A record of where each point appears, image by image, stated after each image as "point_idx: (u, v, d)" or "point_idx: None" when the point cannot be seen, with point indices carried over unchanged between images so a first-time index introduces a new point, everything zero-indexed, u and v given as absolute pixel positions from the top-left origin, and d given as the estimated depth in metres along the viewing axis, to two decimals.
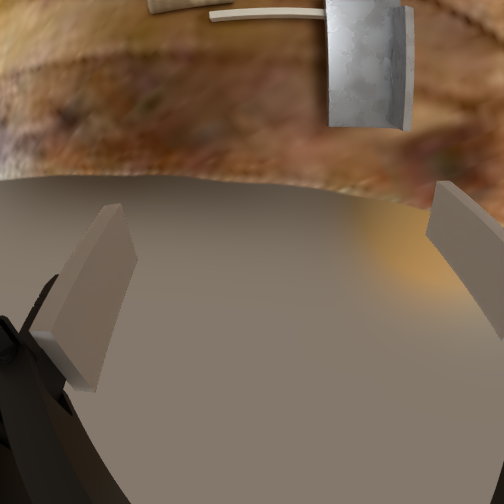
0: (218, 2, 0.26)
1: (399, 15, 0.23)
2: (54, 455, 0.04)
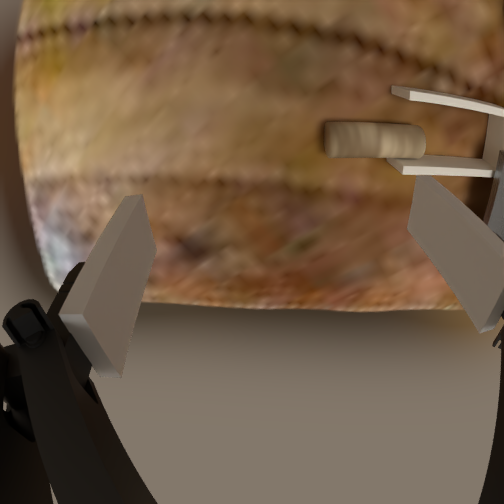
0: None
1: None
2: (81, 443, 0.04)
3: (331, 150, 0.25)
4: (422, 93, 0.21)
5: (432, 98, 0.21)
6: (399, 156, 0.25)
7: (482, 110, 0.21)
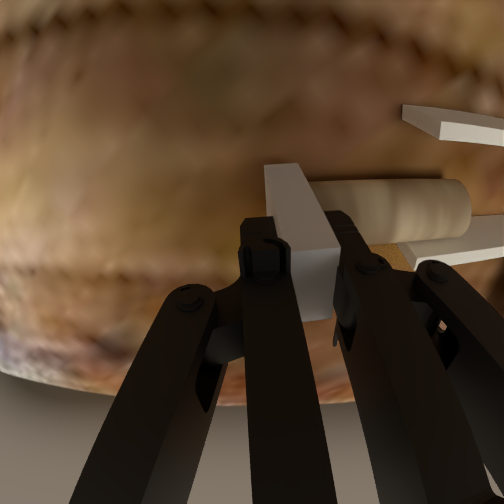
0: None
1: None
2: (303, 394, 0.05)
3: None
4: (463, 125, 0.10)
5: (479, 134, 0.10)
6: (424, 239, 0.15)
7: None
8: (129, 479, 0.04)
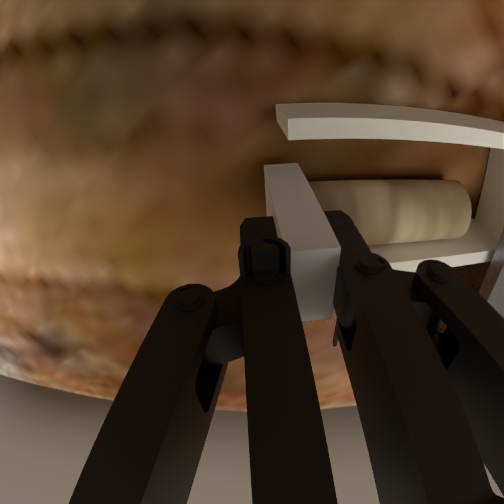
0: None
1: None
2: (303, 394, 0.05)
3: None
4: (323, 119, 0.10)
5: (350, 127, 0.10)
6: (424, 240, 0.15)
7: (478, 142, 0.11)
8: (129, 479, 0.04)
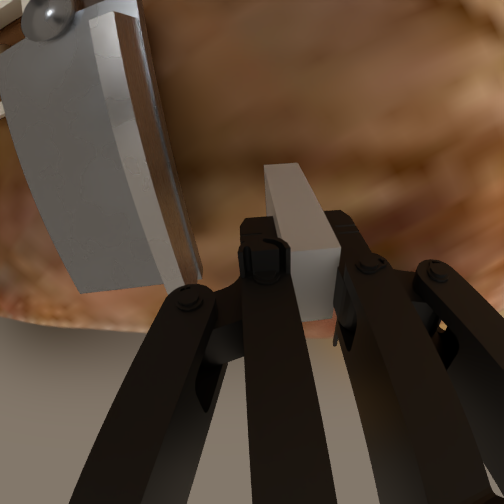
0: None
1: None
2: (303, 394, 0.05)
3: None
4: None
5: None
6: None
7: None
8: (129, 479, 0.04)
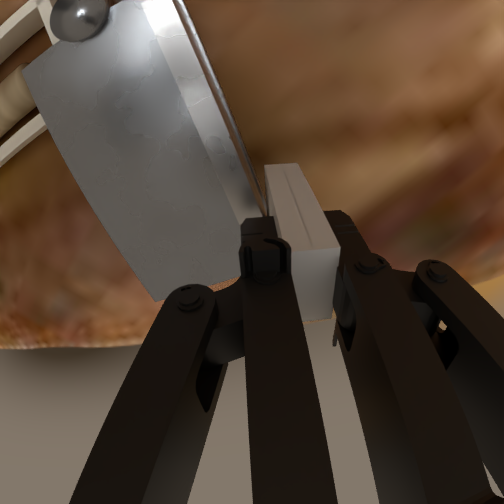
0: (26, 114, 0.15)
1: None
2: (304, 394, 0.05)
3: None
4: None
5: None
6: None
7: None
8: (130, 479, 0.04)
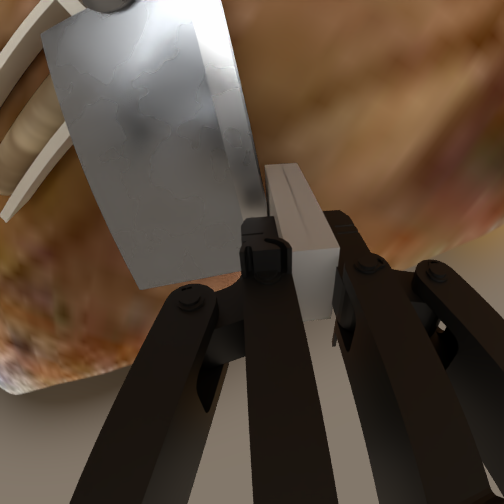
0: None
1: None
2: (304, 394, 0.05)
3: None
4: None
5: None
6: (50, 129, 0.15)
7: (6, 58, 0.11)
8: (130, 479, 0.04)
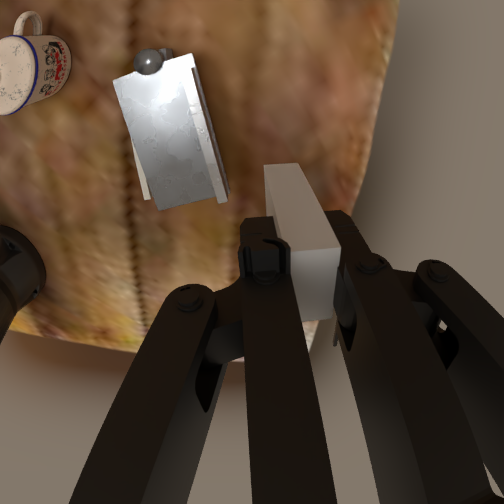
0: None
1: None
2: (303, 394, 0.05)
3: None
4: (142, 190, 0.36)
5: (143, 182, 0.35)
6: None
7: None
8: (129, 479, 0.04)
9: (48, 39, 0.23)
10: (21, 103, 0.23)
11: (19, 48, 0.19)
